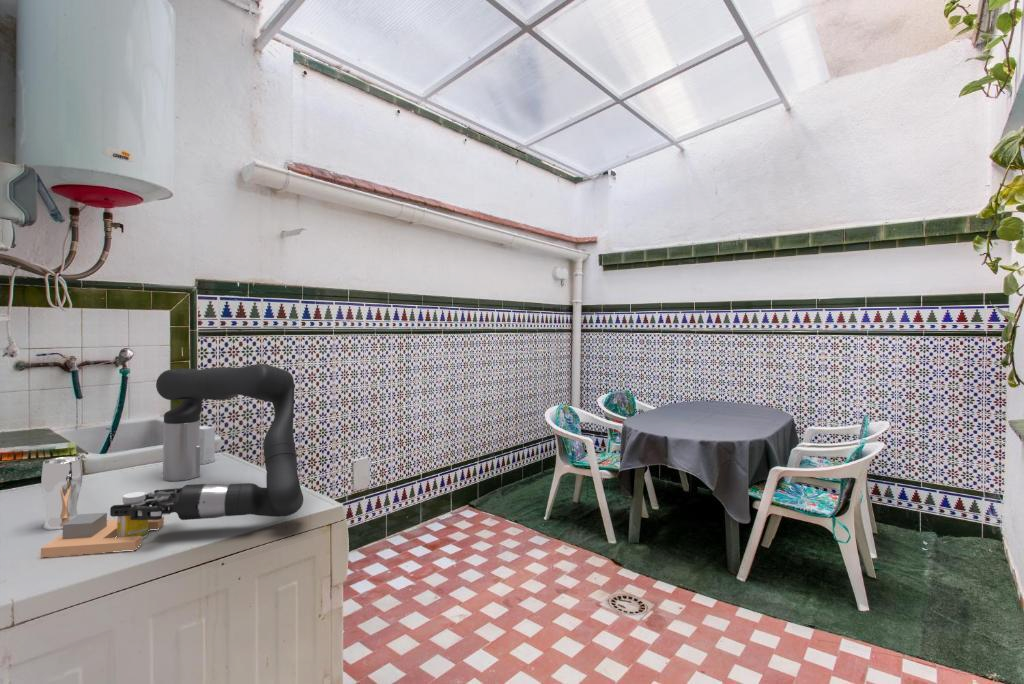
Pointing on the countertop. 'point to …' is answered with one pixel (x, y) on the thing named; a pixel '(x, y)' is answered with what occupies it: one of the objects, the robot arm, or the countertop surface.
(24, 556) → the countertop surface
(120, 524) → the supplement bottle
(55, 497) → the beer glass
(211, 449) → the skincare box
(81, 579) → the countertop surface
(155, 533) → the countertop surface
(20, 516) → the countertop surface
